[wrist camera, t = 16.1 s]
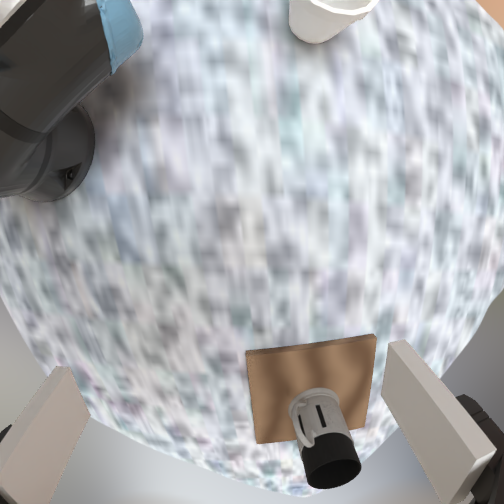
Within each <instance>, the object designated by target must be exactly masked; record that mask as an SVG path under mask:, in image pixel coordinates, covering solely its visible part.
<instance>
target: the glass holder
mask: <svg viewBox="0 0 504 504" xmlns="http://www.w3.org/2000/svg"><path fill="white" fill-rule="evenodd" d="M288 414H289V416H290V418H291V419H292V421H293V425H294V429H295V433H296V438H297V442H298V447H299V451H300V456H301V459H302V461H303V464H304V468H305V473H306V477H307V482H308V484H309V485H310V486H312V487H314V488H317V489H330V488H335V487H338V486H341V485H344V484H346V483H348V482H350V481H351V480H353V479H354V478H355V477H356V476H357V475H358V474H359V473H360V471H361V463H360V461H359V458H358V455H357V453H356V450H355V448H354V442H353V439H352V437H351V434H350V432H349V429H348V427H347V424H346V422H345V419H344V417H343V414H342V412H341V409H340V407H339V397H338V395H337V394H336V393H335V392H334V391H332V390H330V389H327V388H312V389H309V390H306V391H304V392H301V393H300V394H298V395H297V396H296V397H295V398H294V399H293V400H292V401H291V403H290V404H289V407H288Z"/></svg>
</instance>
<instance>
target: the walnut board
mask: <svg viewBox="0 0 504 504" xmlns="http://www.w3.org/2000/svg"><path fill="white" fill-rule="evenodd" d="M376 341H377V338H376V336H375V335H374V334H368V335H362V336H356V337H350V338H344V339H338V340H331V341H324V342H317V343H310V344H303V345H295V346H287V347H278V348H269V349H259V350H249V351H246V359H247V368H248V376H249V385H250V393H251V401H252V410H253V418H254V426H255V434H256V442H257V444H264V443H274V442H282V441H290V440H297V438H296V433H295V429H294V425H293V421H292V419H291V418H290V416H289V414H288V407H289V404H290V403H291V401H292V400H293V399H294V398H295V397H296V396H297V395H298V394H300V393H301V392H304V391H306V390H309V389H312V388H327V389H330V390H332V391H334V392H335V393H336V394H337V395H338V397H339V407H340V409H341V412H342V414H343V417H344V419H345V422H346V424H347V427H348V429H349V430H353V429H358V428H362V427H364V426H365V420H366V414H367V409H368V402H369V396H370V389H371V383H372V375H373V368H374V359H375V351H376Z"/></svg>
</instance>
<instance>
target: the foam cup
mask: <svg viewBox="0 0 504 504" xmlns="http://www.w3.org/2000/svg"><path fill="white" fill-rule="evenodd" d="M378 1H379V0H290V7H289V26H290V28H291V31H292V33H294V34H295V35H296V36H297V37H298V38H299V39H300V40H303V41H305V42H307V43H316V44H319V43H322V42H325V41H327V40H329V39H330V38H332V37H333V36H335V35H336V34H338V33H339V32H341V31H342V30H344V29H345V28H346V27H348V26H349V25H351V24H352V23H354V22H355V21H358V20H361V19H363V18H364V17H365V16H366V15H367V14H368V13H369V12H370V10H371V9H372V8H373V7H374V6H375V5H376V4H377V3H378Z"/></svg>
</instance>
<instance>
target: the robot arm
mask: <svg viewBox="0 0 504 504" xmlns="http://www.w3.org/2000/svg"><path fill="white" fill-rule="evenodd" d="M142 40H143V29H142V26H141V23H140V20H139V18H138V16H137V14H136V12H135V10H134V8H133V6H132V4H131V2H130V0H0V198H4V197H8V196H13V195H19V196H22V197H24V198H27V199H29V200H32V201H37V202H48V201H53V200H57V199H60V198H63V197H65V196H66V195H68V194H70V193H71V192H72V191H73V190H75V189H76V188H77V187H78V186H79V184H80V183H81V182H82V180H83V179H84V177H85V176H86V174H87V172H88V170H89V167H90V165H91V162H92V158H93V154H94V145H95V137H94V130H93V125H92V122H91V120H90V117H89V115H88V114H87V112H86V111H85V109H84V108H83V107H82V106H81V105H80V104H78V103H79V102H81V101H82V100H83V99H84V98H85V97H86V96H87V95H88V94H89V93H90V92H91V91H92V90H93V89H94V88H95V87H96V86H97V85H99V84H100V83H101V82H102V81H103V80H104V79H105V78H106V77H108V76H109V75H113V74H114V73H115V72H116V69H117V68H118V67H119V66H120V65H121V64H122V63H123V62H124V61H126V60H127V59H128V58H129V57H130V56H131V55H133V54H134V53H135V52H136V51H137V50H138V49H139V47H140V46H141V44H142ZM381 396H382V398H383V399H384V401H385V403H386V404H387V406H388V408H389V410H390V411H391V413H392V415H393V417H394V418H395V420H396V422H397V423H398V425H399V427H400V429H401V430H402V432H403V434H404V436H405V438H406V439H407V441H408V443H409V445H410V446H411V448H412V450H413V452H414V453H415V455H416V457H417V459H418V461H419V463H420V464H421V466H422V468H423V470H424V472H425V473H426V475H427V477H428V479H429V481H430V482H431V484H432V486H433V488H434V490H435V492H436V494H437V496H438V498H439V499H440V501H441V503H442V504H457V503H459V502H461V501H463V500H464V499H465V498H466V496H467V495H468V494H469V492H470V491H471V492H472V494H473V495H474V498H473V499H472V500H471V502H470V503H469V504H504V433H503V432H502V431H501V430H500V429H499V427H498V426H497V425H496V424H495V423H494V422H493V420H492V419H491V418H489V416H488V415H487V413H486V412H485V411H483V409H482V408H481V407H480V405H479V404H478V403H477V402H476V401H475V400H473V399H472V398H470V397H468V396H466V395H465V394H463V395H461V396H458V397H454V396H453V394H452V393H451V392H450V391H449V390H448V389H447V387H446V386H445V385H444V384H443V382H442V381H441V380H440V379H439V378H438V377H437V375H436V374H435V373H434V372H433V371H432V370H431V368H430V367H429V366H428V365H427V364H426V363H425V362H424V360H423V359H422V358H421V357H420V356H419V355H418V354H417V352H416V351H415V350H414V349H413V348H412V347H411V346H410V345H409V343H408V342H407V341H406V340H400V341H395V342H391V343H388V351H387V359H386V366H385V372H384V379H383V385H382V391H381ZM89 417H90V413H89V411H88V409H87V406H86V404H85V402H84V400H83V398H82V395H81V393H80V391H79V388H78V386H77V384H76V381H75V379H74V376H73V374H72V371H71V369H70V367H58V366H56V367H55V368H54V370H53V371H52V372H51V374H50V375H49V376H48V377H47V379H46V380H45V381H44V383H43V384H42V385H41V387H40V388H39V389H38V391H37V392H36V393H35V395H34V396H33V398H32V399H31V400H30V402H29V403H28V404H27V406H26V407H25V408H24V410H23V411H22V413H21V414H20V415H19V417H18V418H17V420H16V421H15V422H14V424H13V425H9V426H8V427H6V428H5V429H4V430H3V431H1V433H0V504H49V503H50V501H51V499H52V496H53V494H54V492H55V489H56V487H57V485H58V483H59V480H60V478H61V476H62V474H63V471H64V469H65V467H66V465H67V463H68V461H69V458H70V456H71V454H72V452H73V450H74V448H75V446H76V444H77V442H78V439H79V437H80V435H81V433H82V431H83V429H84V427H85V425H86V423H87V421H88V419H89Z"/></svg>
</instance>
